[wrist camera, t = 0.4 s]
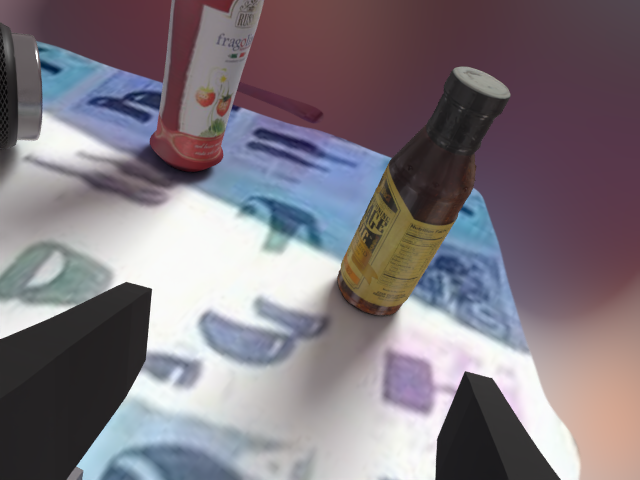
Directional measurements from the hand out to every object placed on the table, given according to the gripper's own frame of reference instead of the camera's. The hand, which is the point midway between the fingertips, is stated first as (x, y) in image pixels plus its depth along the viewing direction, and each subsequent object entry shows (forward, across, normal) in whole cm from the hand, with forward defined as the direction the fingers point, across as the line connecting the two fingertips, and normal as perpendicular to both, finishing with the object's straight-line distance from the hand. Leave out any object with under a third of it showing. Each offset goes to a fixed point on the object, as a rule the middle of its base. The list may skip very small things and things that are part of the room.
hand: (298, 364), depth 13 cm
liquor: (+40, +16, +12) cm, 45 cm away
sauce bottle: (+31, -3, +16) cm, 35 cm away
